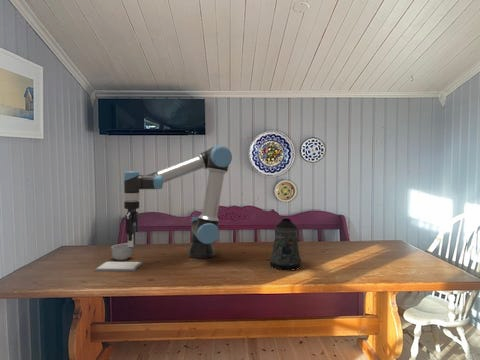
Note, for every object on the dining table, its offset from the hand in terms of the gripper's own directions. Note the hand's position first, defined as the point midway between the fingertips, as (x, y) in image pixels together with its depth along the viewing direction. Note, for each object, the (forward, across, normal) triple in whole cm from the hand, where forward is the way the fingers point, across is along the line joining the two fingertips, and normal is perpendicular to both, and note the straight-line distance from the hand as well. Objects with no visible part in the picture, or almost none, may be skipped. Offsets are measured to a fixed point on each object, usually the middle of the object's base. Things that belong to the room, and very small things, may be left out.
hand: (132, 245), depth 183 cm
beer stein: (+11, -5, +80) cm, 81 cm away
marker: (+1, 0, 0) cm, 1 cm away
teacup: (+12, -17, -11) cm, 23 cm away
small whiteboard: (+11, 0, -7) cm, 13 cm away
